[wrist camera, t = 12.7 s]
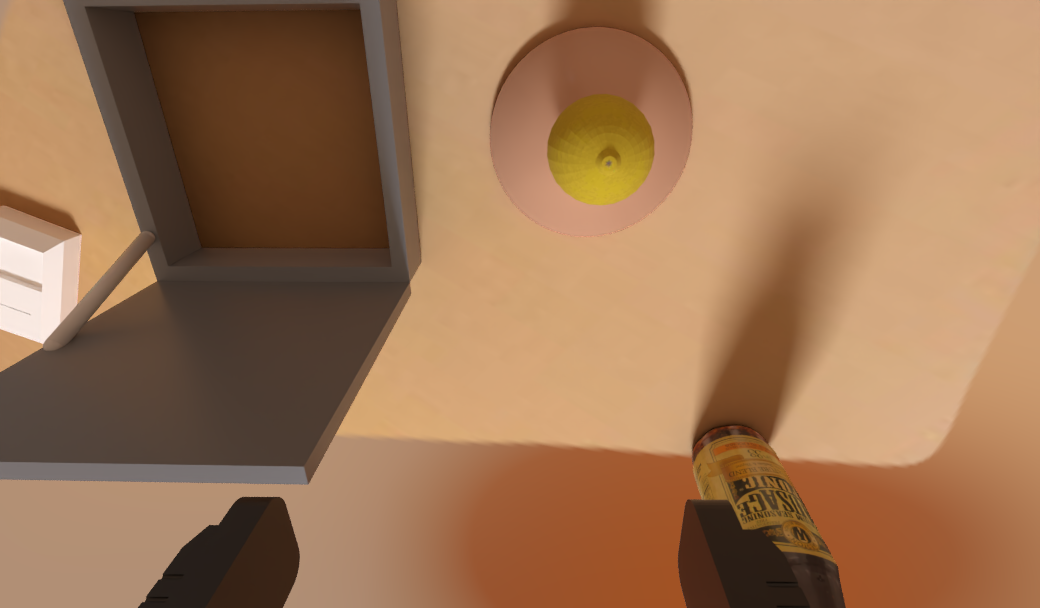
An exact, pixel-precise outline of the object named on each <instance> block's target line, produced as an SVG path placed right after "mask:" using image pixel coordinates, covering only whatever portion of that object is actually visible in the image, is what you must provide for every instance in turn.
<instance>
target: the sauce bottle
mask: <svg viewBox="0 0 1040 608" xmlns="http://www.w3.org/2000/svg"><path fill="white" fill-rule="evenodd" d="M692 462H693V473H694V476H695V480H696V483H697V485H698V489H699V492H700V495H701V498H702V500H728V501H729V502H730V503H731V505H732V506H733V508H734V511H735V513H736V515H737V517H738V520H739V522H740V524H741V527H742V529H760V530H761V531H762V532H763V533H764V534H765V535H766V536H767V537H768V538H769V539H770V540H771V541H772V542H773V543H774V544H775V545H776V546H777V547H778V548H779V549H780V550H781V551H782V552H783V553H784V555H785V557H786V559H787V561H788V563H789V565H790V567H791V569H792V571H793V573H794V575H795V577H796V579H797V581H798V586H799V588H801V589H802V591H803V593H804V594H805V596H806V598H807V600H808V602H809V604H810V608H846V607H845V603H844V598H843V593H842V589H841V584H840V578H839V572H838V566H837V564H836V562H835V561H834V559H833V557H832V555H831V553H830V551H829V549H828V547H827V546H826V544H825V542H824V541H823V539H822V537H821V535H820V534H819V532H818V530H817V527H816V526H815V524H814V522H813V520H812V519H811V517H810V515H809V513H808V511H807V509H806V507H805V505H804V503H803V502H802V500H801V498H800V497H799V495H798V493H797V491H796V490H795V488H794V486H793V484H792V482H791V481H790V479H789V477H788V475H787V473H786V471H785V470H784V468H783V466H782V464H781V463H780V461H779V458H778V457H777V455H776V453H775V452H774V450H773V449H772V448H771V447H770V446H769V444H768V443H767V441H766V440H765V439H764V438H763V437H762V436H761V435H760V434H758V433H757V432H756V431H754V430H753V429H751V428H749V427H747V428H746V427H745V426H738V425H734V426H724V427H718V428H715V429H712V430H710V431H709V432H707V433H706V434H705V436H704V437H702V438H701V439H700V440H699V441H698V442H697V443H696V445H695V447H694V449H693V455H692Z"/></svg>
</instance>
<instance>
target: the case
mask: <svg viewBox="0 0 1040 608" xmlns="http://www.w3.org/2000/svg"><path fill="white" fill-rule="evenodd" d="M63 2H64V5H65V8H66V11H67V14H68V17H69V20H70V23H71V26H72V29H73V32H74V34H75V37H76V40H77V43H78V46H79V49H80V52H81V55H82V58H83V61H84V64H85V67H86V70H87V73H88V76H89V79H90V82H91V85H92V88H93V91H94V94H95V97H96V100H97V103H98V106H99V109H100V112H101V115H102V118H103V121H104V124H105V127H106V130H107V133H108V136H109V139H110V142H111V144H112V147H113V150H114V153H115V156H116V159H117V162H118V165H119V168H120V171H121V174H122V177H123V180H124V183H125V186H126V189H127V192H128V195H129V198H130V201H131V204H132V207H133V210H134V213H135V216H136V219H137V222H138V225H139V228H140V231H141V233H140V234H139V236H138V237H137V238H136V239H135V240H134V241H133V242H132V243H131V245H130V246H129V247H128V248H127V249H126V250H125V251H124V252H123V254H122V255H121V256H120V257H119V258H118V259H117V260H116V262H115V263H114V264H113V265H112V266H111V267H110V268H109V269H108V271H107V272H106V273H105V274H104V275H103V276H102V277H101V278H100V280H99V281H98V282H97V283H96V284H95V285H94V286H93V287H92V289H91V290H90V291H89V292H88V293H87V294H86V295H85V296H84V298H83V299H82V300H81V301H80V302H79V303H78V304H77V306H76V307H75V308H74V309H73V310H72V311H71V312H70V313H69V315H68V316H67V317H66V318H65V319H64V320H63V321H62V322H61V324H60V325H59V326H58V327H57V328H56V329H55V330H54V331H53V333H52V334H51V335H50V336H49V337H48V338H47V339H46V340H45V342H44V343H43V348H41V349H40V350H38V351H36V352H35V353H33V354H31V355H29V356H28V357H26V358H24V359H22V360H21V361H19V362H17V363H16V364H14V365H12V366H10V367H9V368H7V369H5V370H4V371H2V372H0V479H13V480H18V479H19V480H72V481H73V480H74V481H131V482H192V483H193V482H194V483H250V484H309V482H310V480H311V478H312V477H313V475H314V473H315V471H316V469H317V467H318V466H319V464H320V462H321V460H322V458H323V456H324V454H325V452H326V451H327V449H328V447H329V445H330V443H331V441H332V440H333V438H334V436H335V434H336V432H337V430H338V429H339V427H340V425H341V423H342V421H343V419H344V417H345V416H346V414H347V412H348V410H349V408H350V406H351V404H352V403H353V401H354V399H355V397H356V395H357V393H358V391H359V390H360V388H361V386H362V384H363V382H364V380H365V379H366V377H367V375H368V373H369V371H370V369H371V367H372V366H373V364H374V362H375V360H376V358H377V356H378V354H379V353H380V351H381V349H382V347H383V345H384V343H385V342H386V340H387V338H388V336H389V334H390V332H391V330H392V329H393V327H394V325H395V323H396V321H397V319H398V317H399V316H400V314H401V312H402V310H403V308H404V306H405V304H406V303H407V301H408V299H409V297H410V295H411V288H410V281H411V279H412V278H413V276H414V274H415V272H416V271H417V269H418V267H419V266H420V264H421V253H420V243H419V232H418V222H417V211H416V201H415V191H414V180H413V170H412V159H411V149H410V139H409V128H408V118H407V107H406V97H405V87H404V76H403V66H402V56H401V45H400V35H399V24H398V14H397V4H396V0H63ZM284 10H361V19H362V27H363V35H364V43H365V51H366V59H367V67H368V76H369V84H370V92H371V100H372V108H373V116H374V124H375V133H376V141H377V149H378V157H379V165H380V173H381V181H382V190H383V198H384V206H385V214H386V222H387V230H388V238H389V247H390V248H201V244H200V241H199V237H198V234H197V230H196V227H195V223H194V220H193V216H192V213H191V209H190V206H189V203H188V199H187V196H186V192H185V189H184V185H183V182H182V178H181V175H180V171H179V168H178V164H177V161H176V157H175V154H174V150H173V147H172V143H171V140H170V136H169V133H168V130H167V126H166V123H165V119H164V116H163V112H162V109H161V105H160V102H159V98H158V95H157V91H156V88H155V84H154V81H153V77H152V74H151V70H150V67H149V64H148V60H147V57H146V53H145V50H144V46H143V43H142V39H141V36H140V32H139V29H138V25H137V22H136V18H135V15H134V12H202V11H284ZM146 251H147V252H148V255H149V257H150V260H151V263H152V266H153V269H154V272H155V275H156V278H157V282H155V283H153V284H152V285H150V286H148V287H146V288H145V289H143V290H141V291H140V292H138V293H136V294H134V295H133V296H131V297H129V298H128V299H126V300H124V301H122V302H121V303H119V304H117V305H115V306H114V307H112V308H110V309H109V310H107V311H105V312H103V313H102V314H100V315H98V316H97V317H95V318H93V319H91V320H90V321H88V320H89V319H90V317H91V316H92V315H93V314H94V313H95V311H96V310H97V309H98V308H99V307H100V305H101V304H102V303H103V302H104V301H105V300H106V298H107V297H108V296H109V295H110V294H111V292H112V291H113V290H114V289H115V288H116V286H117V285H118V284H119V283H120V282H121V281H122V279H123V278H124V277H125V276H126V275H127V273H128V272H129V271H130V270H131V269H132V267H133V266H134V265H135V264H136V263H137V261H138V260H139V259H140V258H141V257H142V256H143V254H144V253H145V252H146ZM87 321H88V322H87Z"/></svg>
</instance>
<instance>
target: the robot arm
mask: <svg viewBox="0 0 1040 608" xmlns="http://www.w3.org/2000/svg"><path fill="white" fill-rule="evenodd" d="M299 559H300V554H299V548H298V544H297V541H296V538H295V534H294V531H293V527H292V524H291V521H290V517H289V514H288V511H287V508H286V504H285V502H284V500H283V499H282V498H280V497H242V498H239V499H238V500H237V501H236V502H235V503H234V504H233V505H232V507H231V508H230V509H229V511H228V513H227V514H226V515H225V517H224V518H223V520H222V521H221V522H220V524H219V525H209V526H208V527H206V529H204V530H203V531H202V532H201V533H199V534H198V535H197V536H196V537H194V538H193V539H192V540H191V541H190V542H189V543H187V544H186V545H185V546H184V547H183V548H182V549H181V550H180V552H179V553H178V554H177V556H176V557H175V558H174V560H173V561H172V562H171V564H170V565H169V566H168V568H167V569H166V570H165V572H164V573H163V577H162V579H161V580H158V581H157V583H156V584H155V585H154V587H153V588H152V589H151V591H150V592H149V594H148V595H147V597H146V601H145V602H142V603H141V604H140V606H139V607H138V608H283V606H284V604H285V602H286V600H287V598H288V595H289V593H290V591H291V589H292V587H293V585H294V582H295V580H296V577H297V573H298V568H299ZM678 568H679V577H680V583H681V587H682V591H683V595H684V598H685V602H686V606H687V608H810V604H809V602H808V600H807V598H806V596H805V594H804V593H803V591H802V589H801V588H799V586H798V581H797V579H796V577H795V575H794V573H793V571H792V569H791V567H790V565H789V563H788V561H787V559H786V557H785V555H784V553H783V552H782V551H781V550H780V549H779V548H778V547H777V546H776V545H775V544H774V543H773V542H772V541H771V540H770V539H769V538H768V537H767V536H766V535H765V534H764V533H763V532H762V531H761V530H760V529H742V527H741V524H740V522H739V520H738V517H737V515H736V513H735V511H734V508H733V506H732V505H731V503H730V502H729V501H728V500H687V502H686V505H685V510H684V517H683V524H682V531H681V539H680V545H679V553H678Z"/></svg>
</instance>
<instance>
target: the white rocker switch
mask: <svg viewBox="0 0 1040 608" xmlns="http://www.w3.org/2000/svg"><path fill="white" fill-rule="evenodd" d="M81 237H82V234H79V233H76V232H74V231H71V230H68V229H66V228H63V227H61V226H58V225H55V224H53V223H50V222H47V221H45V220H42V219H39V218H37V217H34V216H32V215H29V214H26V213H24V212H21V211H18V210H16V209H13V208H10V207H8V206H5V205H4V206H0V329H2V330H5V331H8V332H11V333H13V334H16V335H19V336H22V337H25V338H28V339H31V340H34V341H36V342H39V343H42V344H43V343H44V342H45V340H46V339H47V338H48V337H49V336H50V335H51V334H52V333H53V331H54V330H55V329H56V328H57V327H58V326H59V325H60V324H61V322H62V321H63V320H64V319H65V318H66V317H67V316H68V315H69V313H70V312H71V311H72V310H73V309H74V308H75V307H76V306H77V298H78V283H79V267H80V252H81Z"/></svg>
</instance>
